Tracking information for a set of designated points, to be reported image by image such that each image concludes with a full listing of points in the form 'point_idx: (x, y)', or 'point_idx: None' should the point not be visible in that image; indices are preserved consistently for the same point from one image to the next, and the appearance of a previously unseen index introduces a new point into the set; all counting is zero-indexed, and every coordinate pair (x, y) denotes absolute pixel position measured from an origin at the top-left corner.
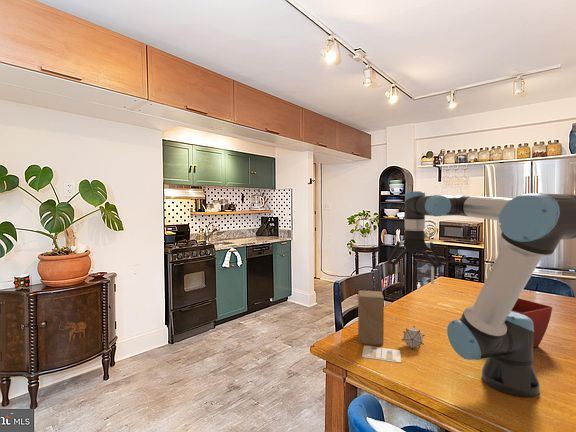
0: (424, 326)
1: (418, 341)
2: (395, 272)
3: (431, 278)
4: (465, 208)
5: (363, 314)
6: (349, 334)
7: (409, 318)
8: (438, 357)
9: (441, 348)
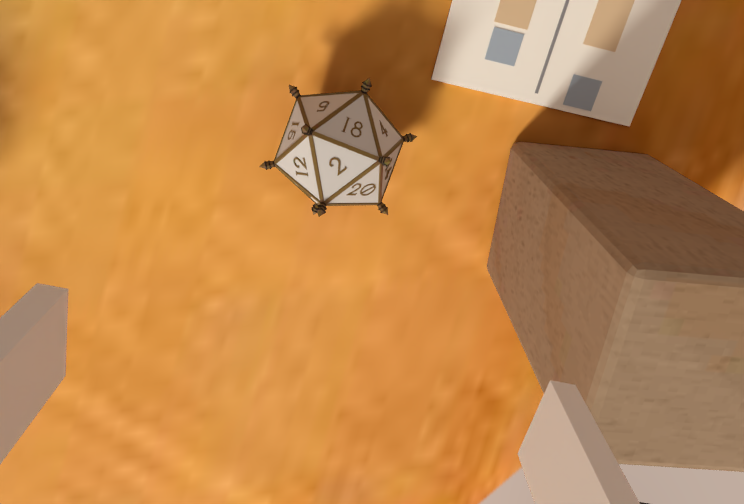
0: (202, 412)
1: (320, 95)
2: (631, 488)
3: (29, 379)
4: None
5: (727, 214)
6: None
7: (260, 501)
8: (225, 12)
9: (176, 138)
